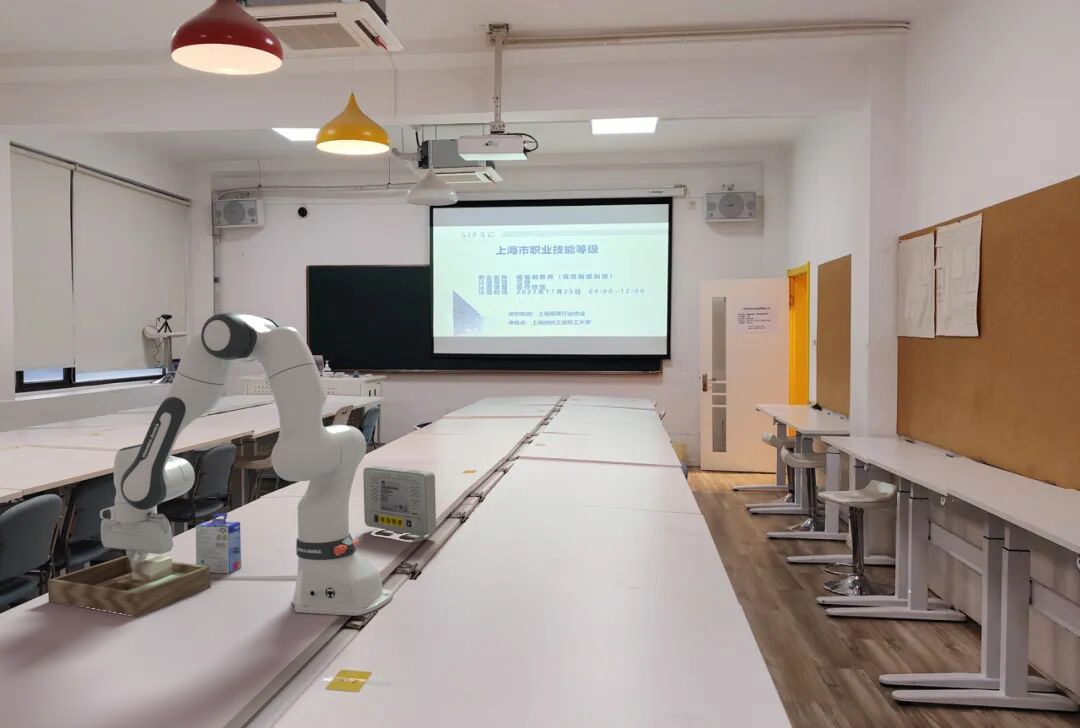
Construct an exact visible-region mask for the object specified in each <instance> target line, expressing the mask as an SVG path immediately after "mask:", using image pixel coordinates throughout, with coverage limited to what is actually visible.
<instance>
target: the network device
mask: <svg viewBox="0 0 1080 728" xmlns="http://www.w3.org/2000/svg"><path fill="white" fill-rule="evenodd" d="M362 474H363V475H362V477H363V505H364V506H363V511H364V513H363V514H364V515H363V516H364V524H365V525H366V527H370V528H377V529H387V530H386V531H392V530H393V533H396V534H403V533H410V534H409V535H415V534H416V536H419V537H416V538H413V540H412V539H411V540H412V541H413V542H412V543H419V542H420V541H424V540H426V539H429V536H430V535H431V534H434V533H435V532H436V530H437V515H436V514H437V513H436V512H437V510H436V509H437V508H436V505H437V504H436V502H437V501H436V476H435V473H434V472H433V471H429V470H419V469H410V468H401V467H400V468H399V467H392V466H383V465H372V466H371V465H370V466H368V467H364V468H363V473H362Z"/></svg>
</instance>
